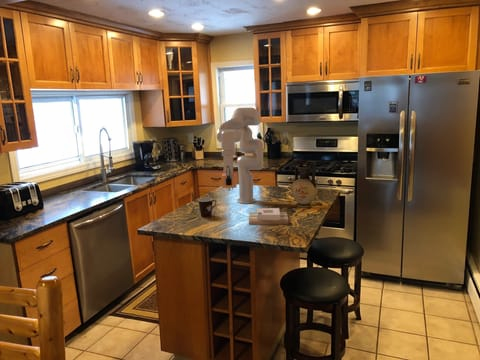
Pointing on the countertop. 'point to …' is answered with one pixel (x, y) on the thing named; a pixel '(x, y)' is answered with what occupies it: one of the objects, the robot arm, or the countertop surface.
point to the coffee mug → (206, 206)
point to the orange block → (234, 181)
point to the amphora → (304, 183)
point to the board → (254, 220)
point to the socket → (268, 214)
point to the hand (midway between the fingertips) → (229, 183)
